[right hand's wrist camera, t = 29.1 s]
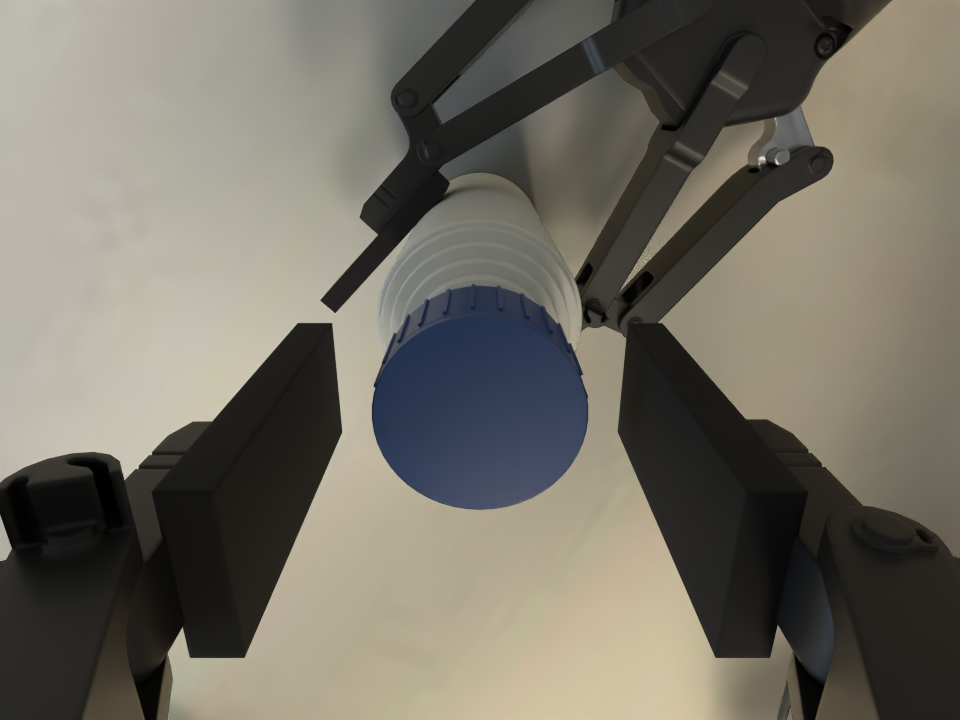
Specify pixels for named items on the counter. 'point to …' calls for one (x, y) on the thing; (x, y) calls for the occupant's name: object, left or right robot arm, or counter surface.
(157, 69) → the counter surface
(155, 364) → the counter surface
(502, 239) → the bottle
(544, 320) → the cap
